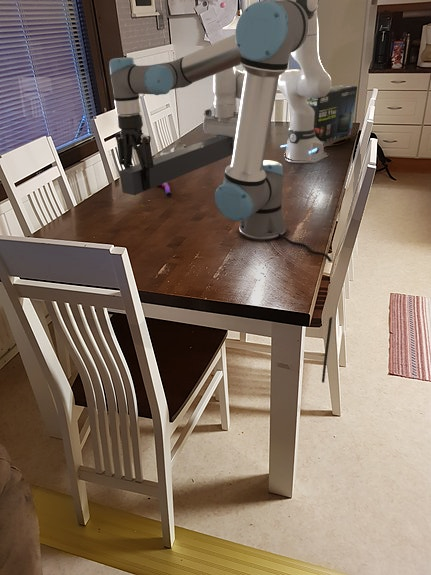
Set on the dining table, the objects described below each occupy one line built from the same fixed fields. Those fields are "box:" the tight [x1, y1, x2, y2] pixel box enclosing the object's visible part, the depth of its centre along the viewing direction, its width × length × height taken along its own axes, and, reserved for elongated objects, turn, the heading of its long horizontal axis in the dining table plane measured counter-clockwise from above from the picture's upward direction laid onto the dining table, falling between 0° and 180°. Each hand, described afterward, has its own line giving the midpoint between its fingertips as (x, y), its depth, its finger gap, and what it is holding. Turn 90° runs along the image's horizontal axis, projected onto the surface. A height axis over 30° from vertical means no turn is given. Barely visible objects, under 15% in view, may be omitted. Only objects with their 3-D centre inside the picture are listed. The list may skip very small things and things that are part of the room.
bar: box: [119, 135, 234, 196], centre depth 168 cm, size 61×6×7 cm, turn 144°
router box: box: [306, 84, 358, 144], centre depth 238 cm, size 36×11×27 cm, turn 134°
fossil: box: [160, 142, 188, 156], centre depth 229 cm, size 18×11×15 cm
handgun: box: [159, 182, 172, 198], centre depth 189 cm, size 21×8×2 cm, turn 11°
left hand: (139, 187), depth 152 cm, fingers closed on bar, 6 cm apart
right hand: (226, 147), depth 186 cm, fingers closed on bar, 5 cm apart
